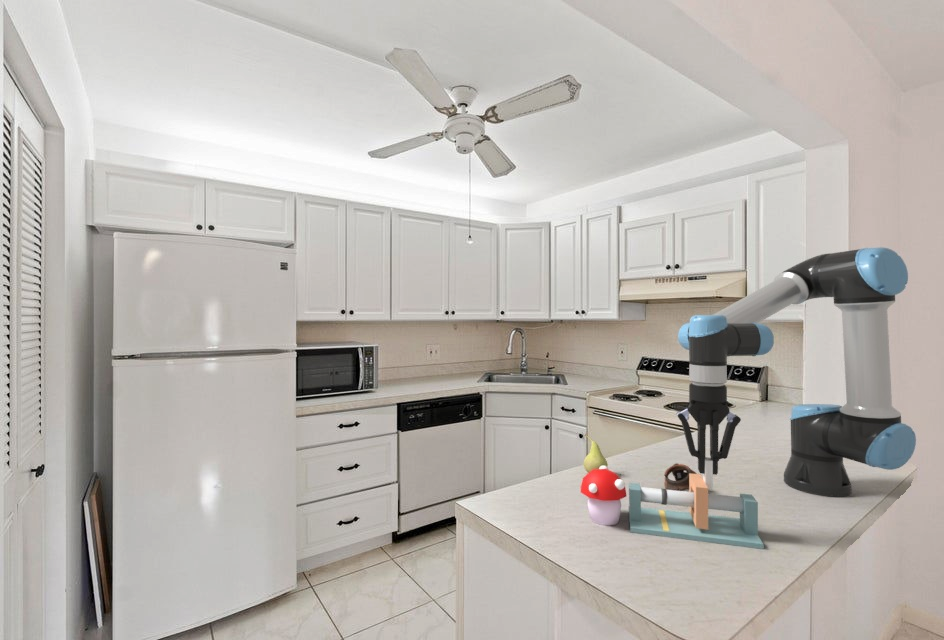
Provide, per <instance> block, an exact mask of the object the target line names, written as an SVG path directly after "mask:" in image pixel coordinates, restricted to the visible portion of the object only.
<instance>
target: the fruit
mask: <svg viewBox="0 0 944 640" xmlns="http://www.w3.org/2000/svg"><path fill="white" fill-rule="evenodd" d="M583 436H585V437H586V438H587V439H588V440H590V443H591V447H590V450H589V453H588V454H587V455H586V456H585V458H584V460H583V467H584V470H585V471H586V472H587V474H588V473H589V472H590V471H591V470H592V469H599V468H600V467H601V466H606V467H607V468H608V465H609V464H608V461H607V460H606V457H604V455H603V453H602V451H601V448H600V446H599V444H598V443H597V442H596V441H595V440H592V439H591V437H590V436H588V435H587V433H584V435H583Z"/></svg>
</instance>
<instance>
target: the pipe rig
mask: <svg viewBox="0 0 944 640" xmlns="http://www.w3.org/2000/svg"><path fill="white" fill-rule="evenodd" d="M628 487H629V488H628V519H629V528H630V529H629V530H630V533H636V534H641V535H642V534H643V535H651V536H658V537H659V536H660V537H664V538H665V537H667V538H674V539H675V538H676V539H681V540H690V541H698V542H699V541H700V542H707V543H713V544H722V545H729V546H737V547H746V548H752V549H753V548H754V549H760V550H764V543H763V541H762V540H761V538H760V537H759V533H758V532H759V524H758V521H759V506H758V504H759V502H758V501H757V499H756V498H755V497H754V495H753V494H751V493H750V494H749V493H741V492H739V496H735V495H734V496H733V495H723V494H716V493H714V494H713V493H708V510H715V511H716V510H717V511H724V512H734V513H739V517H729V516H722V515H721V516H720V515H715V514H713V515H712V514H708V530H707V529H699V528H696V527H695V524H694V522H693V519H692V516H691V514H690V512H686V511H685V512H684V511H676V510H668V509H667V510H666V509H661V508H660V509H659V508H658V509H657V508H651V507H650V508H649V507H642V502H643V503H653V504H658V505H659V504H660V505H666V506H667V505H668V506H679V507H687V508H689V507H694V492H689V491H686V490H679V491H676V490H666V489H665V488H662V487H661V488H654V487H644V486H643V487H642V486H641V484H640V483H637V482H629V483H628Z"/></svg>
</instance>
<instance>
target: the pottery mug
mask: <svg viewBox="0 0 944 640" xmlns="http://www.w3.org/2000/svg"><path fill="white" fill-rule="evenodd" d="M689 473H691V474H698V473H697V472H696V471H694V470H693V469H691V468H690V466H688V465H685V464H683V463H682V464H681V463H680V464H679V463H677V462H676V463H675V464H672V465H671V466H669V467H668V468H667V469H665V471H664V475H663V476H664V489H666V490H676V491H685V490H686V489H689ZM670 474H672V476H673V477H674V479H673V480H672V479H670V478H669V475H670Z"/></svg>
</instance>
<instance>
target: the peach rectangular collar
mask: <svg viewBox="0 0 944 640" xmlns="http://www.w3.org/2000/svg"><path fill="white" fill-rule="evenodd" d="M701 474H702V473H697V474H691V473H689V488H688V489H689V490H688V492H694V507H688V508H689V509H688V511H689V513H690V514H691V516H692V519H693V522H694V524H695V527H696V528H699V529H707V530H708V515H709V509H708V494H709V490H708V487H707V485H706V483H705V482H704V480H703V475H701Z"/></svg>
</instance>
